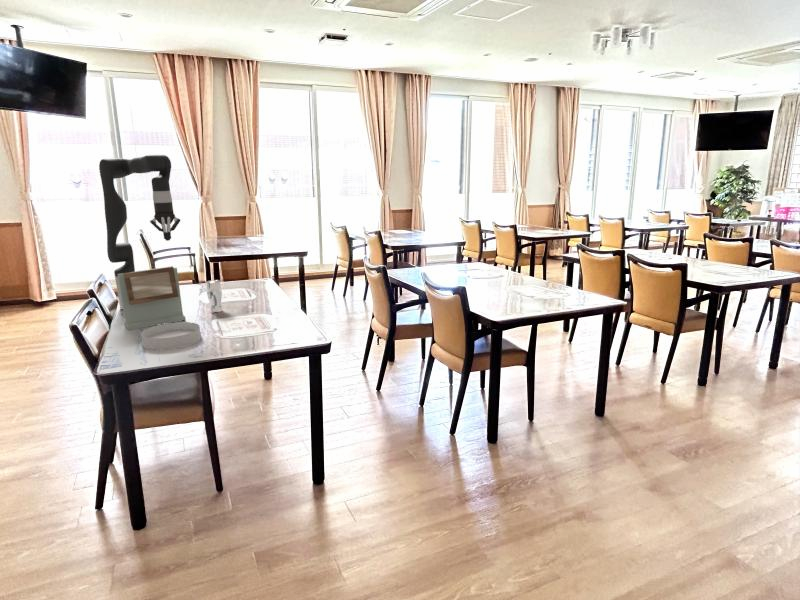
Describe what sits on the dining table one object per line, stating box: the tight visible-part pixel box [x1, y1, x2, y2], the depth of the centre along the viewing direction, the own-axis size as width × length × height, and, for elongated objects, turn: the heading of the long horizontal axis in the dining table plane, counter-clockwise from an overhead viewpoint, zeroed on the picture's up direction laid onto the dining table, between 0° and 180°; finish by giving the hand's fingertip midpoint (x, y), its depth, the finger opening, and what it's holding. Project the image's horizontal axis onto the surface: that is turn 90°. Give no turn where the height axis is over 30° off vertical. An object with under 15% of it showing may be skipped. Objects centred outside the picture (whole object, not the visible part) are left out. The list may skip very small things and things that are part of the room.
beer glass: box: [205, 279, 224, 314], centre depth 250 cm, size 7×7×15 cm
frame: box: [123, 265, 179, 305], centre depth 228 cm, size 2×20×14 cm, turn 124°
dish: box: [140, 321, 202, 350], centre depth 207 cm, size 22×22×5 cm
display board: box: [118, 266, 187, 331], centre depth 232 cm, size 12×24×24 cm, turn 124°
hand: (167, 240), depth 232 cm, fingers closed
